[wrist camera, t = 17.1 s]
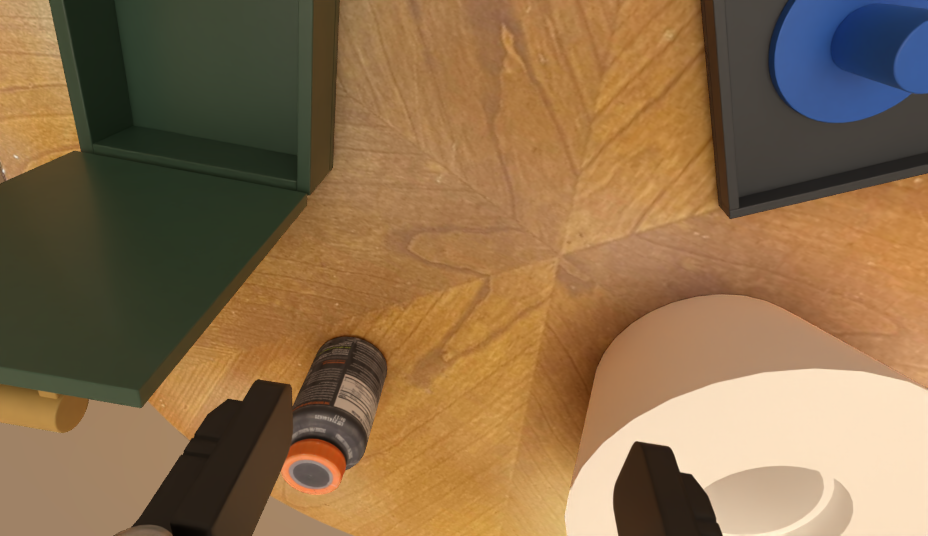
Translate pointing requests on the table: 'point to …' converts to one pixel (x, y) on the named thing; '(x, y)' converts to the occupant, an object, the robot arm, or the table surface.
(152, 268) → the chest lid
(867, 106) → the blue lid
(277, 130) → the green chest
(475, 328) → the table surface
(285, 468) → the pill bottle
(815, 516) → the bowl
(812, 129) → the tray
